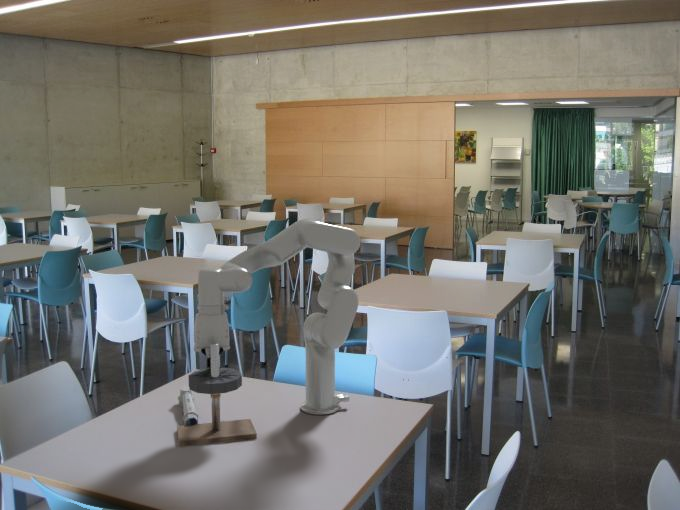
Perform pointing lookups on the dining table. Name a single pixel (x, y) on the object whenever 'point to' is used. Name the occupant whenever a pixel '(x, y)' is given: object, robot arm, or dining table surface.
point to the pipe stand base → (215, 432)
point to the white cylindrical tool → (187, 406)
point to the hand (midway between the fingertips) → (212, 369)
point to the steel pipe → (215, 397)
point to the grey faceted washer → (215, 381)
